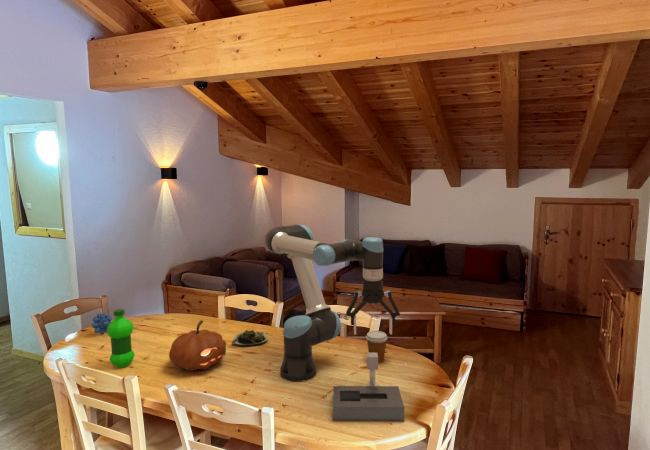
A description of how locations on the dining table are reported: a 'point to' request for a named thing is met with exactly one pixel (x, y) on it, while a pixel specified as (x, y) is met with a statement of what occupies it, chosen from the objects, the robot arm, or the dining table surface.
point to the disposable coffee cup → (377, 343)
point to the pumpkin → (197, 349)
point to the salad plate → (250, 339)
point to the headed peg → (372, 368)
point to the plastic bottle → (120, 340)
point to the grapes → (101, 323)
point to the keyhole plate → (367, 403)
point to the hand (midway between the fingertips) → (372, 333)
